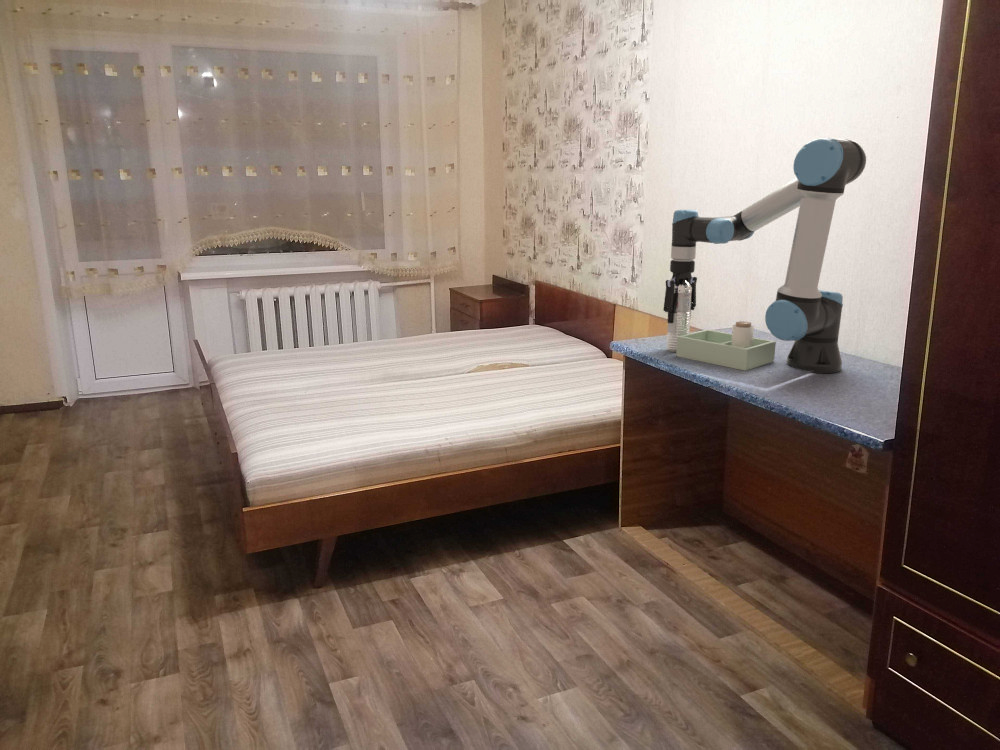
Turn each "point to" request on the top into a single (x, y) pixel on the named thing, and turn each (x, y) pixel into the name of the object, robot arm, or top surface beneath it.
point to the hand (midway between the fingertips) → (678, 331)
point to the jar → (742, 334)
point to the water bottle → (681, 315)
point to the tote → (724, 350)
